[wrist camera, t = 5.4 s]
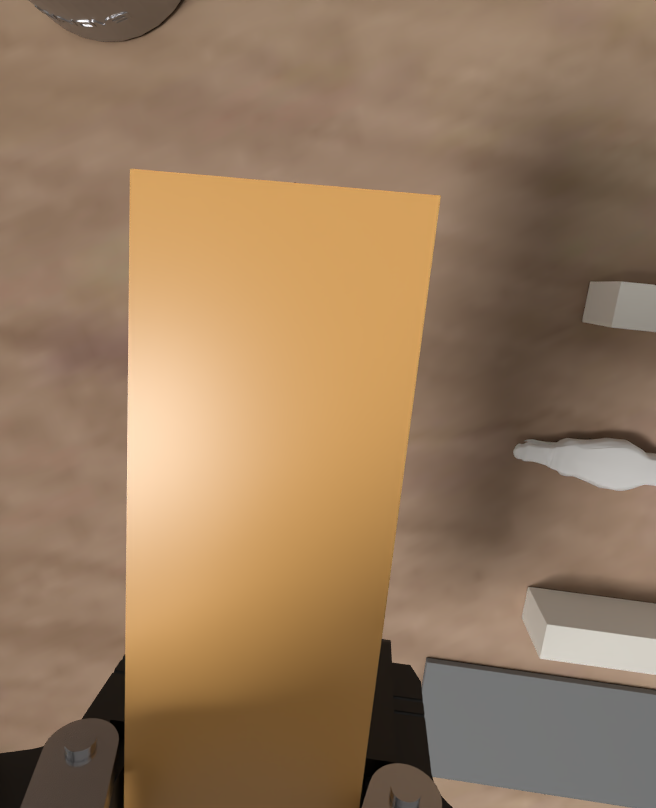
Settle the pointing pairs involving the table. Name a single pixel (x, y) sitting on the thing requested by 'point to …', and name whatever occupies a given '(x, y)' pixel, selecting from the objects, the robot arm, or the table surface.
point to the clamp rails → (588, 614)
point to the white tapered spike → (594, 461)
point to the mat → (541, 733)
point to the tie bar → (263, 480)
